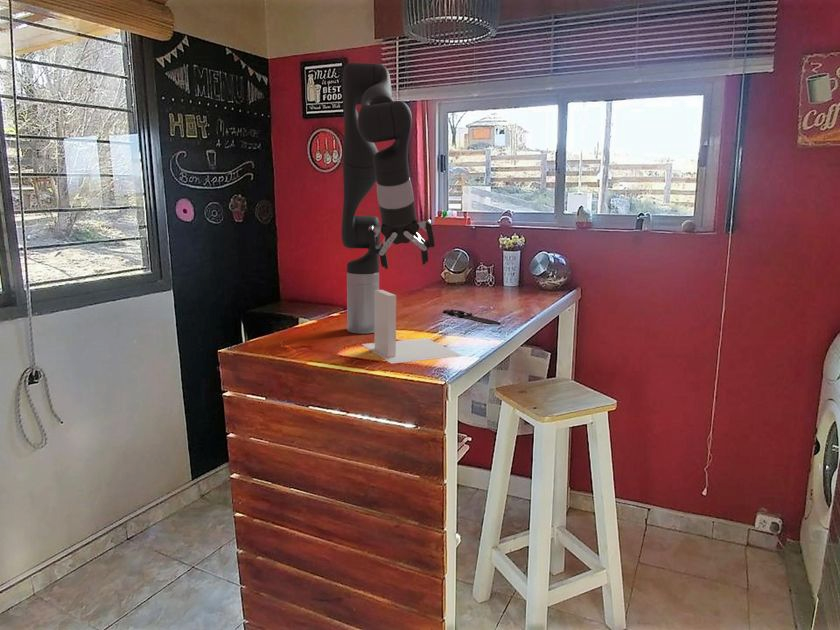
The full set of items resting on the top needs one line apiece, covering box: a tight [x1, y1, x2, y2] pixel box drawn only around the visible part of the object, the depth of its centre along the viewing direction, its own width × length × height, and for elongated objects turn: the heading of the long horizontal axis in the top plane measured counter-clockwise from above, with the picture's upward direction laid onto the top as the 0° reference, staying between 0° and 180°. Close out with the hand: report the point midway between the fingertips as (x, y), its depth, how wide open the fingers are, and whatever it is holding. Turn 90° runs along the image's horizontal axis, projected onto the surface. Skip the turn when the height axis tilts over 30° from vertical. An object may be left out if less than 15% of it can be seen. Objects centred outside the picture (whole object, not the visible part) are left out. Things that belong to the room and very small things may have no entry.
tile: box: [374, 289, 397, 357], centre depth 148 cm, size 9×2×15 cm, turn 25°
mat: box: [361, 337, 463, 365], centre depth 153 cm, size 20×19×1 cm
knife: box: [442, 308, 501, 325], centre depth 198 cm, size 25×6×1 cm, turn 34°
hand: (405, 265), depth 137 cm, fingers open, 8 cm apart
